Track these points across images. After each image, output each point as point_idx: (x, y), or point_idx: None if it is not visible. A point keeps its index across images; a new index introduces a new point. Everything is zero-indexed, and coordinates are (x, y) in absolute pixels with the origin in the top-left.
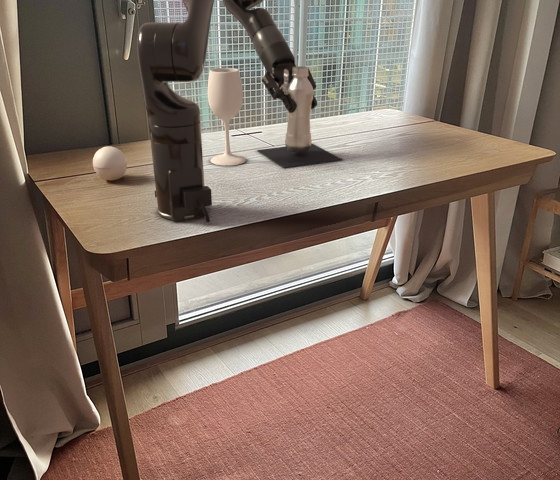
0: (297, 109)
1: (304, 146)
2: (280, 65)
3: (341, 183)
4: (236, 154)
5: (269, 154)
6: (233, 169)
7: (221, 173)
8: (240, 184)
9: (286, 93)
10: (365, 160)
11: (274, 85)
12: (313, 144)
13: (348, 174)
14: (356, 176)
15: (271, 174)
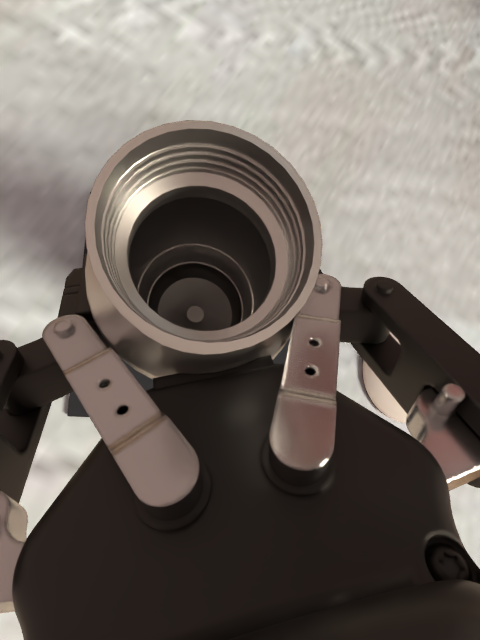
0: (240, 249)
1: (197, 264)
2: (348, 588)
3: (230, 22)
4: (384, 386)
5: (279, 359)
6: (429, 287)
7: (469, 272)
8: (462, 166)
9: (319, 279)
10: (16, 151)
11: (429, 318)
12: (71, 399)
13: (163, 70)
14: (153, 42)
15: (359, 193)
